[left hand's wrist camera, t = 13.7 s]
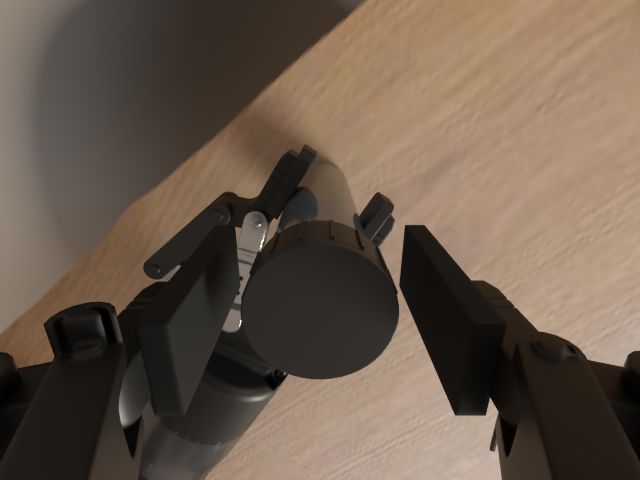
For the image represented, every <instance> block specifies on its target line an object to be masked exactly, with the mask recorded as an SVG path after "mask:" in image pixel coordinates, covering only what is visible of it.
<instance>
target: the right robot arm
mask: <svg viewBox="0 0 640 480" xmlns="http://www.w3.org/2000/svg"><path fill="white" fill-rule="evenodd" d="M316 153H317V151H315V150H313V149H312V148H310V147H309V146H307V145H306V144H305V145H304V147H303V149H302V150H301V152H300V154H298V153H297V152H295V151H294V150H292V149H290V150H289V151H288V152H286V153H285V154H284V155H283V156H282V157H281V159H280V160H279V162H278V164H277V165H276V167H275V169H274V170H273V172H272V174H271V176H270V177H269V179H268V181H267V183H266V184H265V186H264V188H263V189H262V191H261V193H260V194H259V195H258V196H257V197H255V198H252V199H247V198H242V197H238V196H237V195H236V194H235V193H233V192H225V193H223V194H222V195H220V196H219V197H218V198H217V199H216V200H215V201H214V202H212V203H211V204H210V205H209V206H208V207H207V208H206V209H204V210H203V211H202V212H201V213H200V214H199V215H198V216H196V217H195V218H194V219H193V220H192V221H191V222H190V223H189V224H187V225H186V226H185V227H184V228H183V229H182V230H181V231H179V232H178V233H177V234H176V235H175V236H174V237H173V238H171V239H170V240H169V241H168V242H167V243H166V244H165V245H163V246H162V247H161V248H160V249H159V250H158V251H157V252H156V253H155V254H154V255H153V256H152V257H150V258H149V259H148V260H147V261H146V262H145V263H144V267H143V269H144V272H145V274H146V275H147V276H148V277H150V278H152V279H161V278H163V277H165V278H166V279H168V280H170V279H171V277H172V276H173V275H174V274H175V273H176V272H177V270H178V269H179V268H180V267H181V266H182V264H183V263H184V262H185V261H186V260H187V259H188V257H189V256H190V255H191V254H192V253H193V251H194V250H195V249H196V248H197V247H198V246H199V244H200V243H201V242H202V241H203V240H204V238H205V237H206V236H207V235H208V234H209V233H210V231H211V230H212V229H213V228H214V227H215V225H235V227H239V228H242V229H241V234H240V238H239V242H238V247H237V253H238V264H239V274H240V284H241V286H240V289H239V291H238V293H237V296H236V298H235V300H234V302H233V305H232V307H231V309H230V312H229V314H228V316H227V319H226V321H225V323H224V326H223V328H222V330H221V333H220V335H219V337H218V340H217V342H216V344H215V347H214V349H213V351H212V353H211V356H210V358H209V360H208V363H207V365H206V367H205V370H204V372H203V374H202V377H201V379H200V381H199V384H198V386H197V388H196V391H195V393H194V395H193V398H192V400H191V402H190V405H189V407H188V409H187V411H186V414H185V415H154V412H153V408H152V403H151V399H150V400H149V401H148V403H147V405H146V407H145V408H144V410H143V412H142V416H143V420H144V427H145V429H144V437H143V445H142V453H141V461H140V468H139V476H138V480H205V478H206V477H207V476H208V474H209V473H210V472H211V470H212V469H213V468H214V467H215V466H216V465H217V464H218V463H220V462H221V461H222V460H223V459H224V458H225V457H226V456H227V455H228V454H229V452H230V451H231V450H232V449H233V447H234V446H235V445H236V444H237V442H238V441H239V440H240V438H241V437H242V436H243V435H244V433H245V432H246V431H247V429H248V428H249V427H250V425H251V424H252V423H253V421H254V420H255V419H256V418H257V416H258V415H259V414H260V412H261V411H262V410H263V408H264V407H265V406H266V405H267V403H268V402H269V401H270V399H271V398H272V397H273V395H274V394H275V393H276V391H277V390H278V389H279V388H280V386H281V385H282V383H283V382H284V380H285V379H286V377H287V375H288V373H285V372H283V371H281V370H279V369H277V368H275V367H273V366H272V365H270V364H269V363H268V362H266V361H265V360H264V359H262V358H261V357H260V356H259V354H258V353H257V352H256V351H255V350H254V349H253V347H252V346H251V345H250V343H249V341H248V339H247V337H246V335H245V332H244V330H243V326H242V322H241V312H240V310H241V301H242V300H241V296H242V294H243V291H244V289H245V286H246V284H247V281H248V279H249V276H250V274H249V272H250V269H251V267H252V265H253V262H254V260H255V257H256V255H257V253H258V251H262V249H263V247H264V246H265V242H266V237H267V233H268V230H269V226H270V223H271V221H272V220H273V218H275V219H278V218H279V216H280V214H281V213H282V211H283V209H284V207H285V206H286V204H287V203H288V201H289V200H290V198H291V196H292V195H293V193H294V192H295V190H296V188H297V187H298V185H299V184H300V182H301V180H302V179H303V177H304V175H305V174H306V172H307V171H308V169H309V167H310V166H311V164H312V162H313V161H314V159H315V157H316ZM393 209H394V205H393V204H392V202H391V201H390V199H389V198H387V197H385V196H384V195H382V194H381V193H379V192H377V193H376V194H375V195H374V196H373V198H372V199H371V200H370V202H369V203H368V205H367V206H366V207H365V209H364V210H363V212H362V213H361V214H360V216H359V219H360V222H361V225H362V228H363V230H364V233H365V236H366V237H367V238H368V239H369V240H370V241H371V242H372V243H373V244H374V246H375V247H377V246H378V247H379V246H380V245H381V244H382V242H383V241H384V240H385V238H386V237H387V236H388V234H389V233H390V232H391V231H392V228H393V225H394V221H395V220H394V218H393V217H392V215H391V213H392V211H393Z"/></svg>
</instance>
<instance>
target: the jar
mask: <svg viewBox="0 0 640 480" xmlns="http://www.w3.org/2000/svg"><path fill="white" fill-rule="evenodd" d="M330 219H331V220H333V222H338V223H341V224H345V225H347V226H349V227H352V228H354V229H355V230H356V229H359V230H360V232H361V233H362V234H363V235H364V236H365V233H364V230H363V228H362V225H361V222H360V219H359V216H358V213H357V210H356V207H355V204H354V201H353V198H352V195H351V192H350V189H349V186H348V183H347V180H346V178H345V176H344V174H343V173H342V172H341V171H340V170H339V169H338V168H337V167H336V166H334V165H332V164H330V163H327V162H313V163H312V164H311V166H310V167H309V169H308V171H307V172H306V174H305V175H304V177H303V179H302V180H301V182H300V184H299V185H298V187H297V188H296V190H295V192H294V193H293V195H292V196H291V198H290V200H289V201H288V203H287V204H286V206H285V207H284V209H283V212H282V215H281V218H280V221H279V223H278V226H277V229H276V232H277V231H278V233H279V232H281V231H282V230H284V229H286V228H288V227H290V226H292V225H295V224H298V223H300V222H301V221H303V220H304V222H306V221H315V220H326V221H329V220H330ZM276 232H275V233H276Z"/></svg>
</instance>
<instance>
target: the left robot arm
mask: <svg viewBox="0 0 640 480" xmlns="http://www.w3.org/2000/svg"><path fill="white" fill-rule="evenodd" d="M240 286H241V284H240V274H239V264H238V253H237V243H236V232H235V225H215V227H214V228H213V229H212V230H211V231H210V233H209V234H208V235H207V236H206V237H205V238H204V240H203V241H202V242H201V243H200V244H199V246H198V247H197V248H196V249H195V250H194V251H193V253H192V254H191V255H190V256H189V257H188V259H187V260H186V261H185V262H184V263H183V264H182V266H181V267H180V268H179V269H178V270H177V272H176V273H175V274H174V275H173V276H172V277H171V279H170V280H169V281H168V282H155V283H154V284H152V285H150V286H148V287H147V288H145V289H143V290H142V291H141V292H140V293H139V294H138V295H137V296H136V297H135V298H134V299H133V301H131V303H130V304H129V305H128V306H127V307H126V309H124V310H123V311H122V312H121V313H120V314H119V315H118V316H117V314H116V310H115V307H114V306H113V305H111V304H110V303H105V302H89V303H84V304H80V305H75V306H73V307H70V308H67V309H65V310H62V311H60V312H59V313H57V314H55V315H54V316H52V317H50V318H49V319H48V320H47V321H46V322H45V323H44V327H45V330H46V333H47V336H48V339H49V342H50V344H51V347H52V350H53V353H54V356H55V357H54V359H53V361H52V362H48V363H43V364H38V365H33V366H28V367H23V368H18V369H17V366H16V364H15V362H14V359H13V357H12V356H11V355H9V354H8V353H2V352H0V480H138V476H139V468H140V461H141V453H142V445H143V437H144V429H145V427H144V420H143V416H142V412H143V410H144V408H145V407H146V405H147V403H148V401H149V400H150V399H151V403H152V408H153V412H154V415H185V414H186V411H187V409H188V407H189V405H190V402H191V400H192V398H193V395H194V393H195V391H196V388H197V386H198V384H199V381H200V379H201V377H202V374H203V372H204V370H205V367H206V365H207V363H208V360H209V358H210V356H211V353H212V351H213V349H214V347H215V344H216V342H217V340H218V337H219V335H220V333H221V330H222V328H223V326H224V323H225V321H226V319H227V316H228V314H229V312H230V309H231V307H232V305H233V302H234V300H235V298H236V296H237V293H238V291H239V289H240ZM399 286H400V289H401V291H402V293H403V296H404V298H405V300H406V302H407V305H408V307H409V309H410V312H411V314H412V316H413V319H414V321H415V323H416V326H417V328H418V330H419V333H420V335H421V337H422V340H423V342H424V344H425V347H426V349H427V351H428V353H429V356H430V358H431V360H432V363H433V365H434V367H435V370H436V372H437V374H438V377H439V379H440V381H441V384H442V386H443V388H444V391H445V393H446V395H447V398H448V400H449V402H450V405H451V407H452V409H453V411H454V414H455V415H486V412H487V408H488V403H489V399H490V398H491V399H492V401H493V403H494V405H495V406H496V408H497V410H498V416H497V420H496V424H495V428H494V432H493V436H492V440H491V445H490V451H494V452H495V449H496V445H497V444H498V452H499V460H500V467H501V475H502V480H640V351H634V352H632V353H630V354H629V355H628V357H627V359H626V362H625V364H624V366H623V367H620V366H615V365H610V364H605V363H600V362H595V361H590V360H587V358H586V356H585V355H584V354H583V353H582V351H581V350H580V349H579V348H578V347H576V346H575V345H574V344H572V343H571V342H569V341H567V340H565V339H563V338H561V337H559V336H556V335H553V334H549V333H545V332H539V331H538V330H537V329H536V328H535V327H534V326H533V325H532V324H531V323H530V322H529V321H528V320H527V319H526V318H525V317H524V316H523V315H522V314H521V313H520V311H519V310H518V309H517V308H514V305H513V304H512V303H511V302H510V301H509V300H507V298H506V297H505V296H504V295H503V294H502V293H501V292H500V290H499V289H497V288H496V287H494V286H492V285H490V284H489V283H487V282H485V281H471V280H470V279H469V277H468V276H467V275H466V274H465V273H464V272H463V270H462V269H461V268H460V267H459V266H458V264H457V263H456V262H455V261H454V260H453V259H452V257H451V256H450V255H449V254H448V253H447V251H446V250H445V249H444V248H443V247H442V246H441V244H440V243H439V242H438V241H437V240H436V238H435V237H434V236H433V235H432V234H431V233H430V231H429V230H428V229H427V228H426V227H425V225H405V232H404V243H403V253H402V264H401V274H400V284H399Z"/></svg>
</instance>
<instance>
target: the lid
mask: <svg viewBox="0 0 640 480" xmlns="http://www.w3.org/2000/svg"><path fill="white" fill-rule="evenodd" d="M249 274H250V276H249V279H248V281H247V284H246V286H245V289H244V291H243V294H242V296H241V300H242V301H241V310H240V312H241V322H242V326H243V330H244V332H245V335H246V337H247V339H248V341H249V343H250V345H251V346H252V347H253V349H254V350H255V351H256V352H257V353H258V354H259V356H260V357H261V358H262V359H264V360H265V361H266V362H268V363H269V364H270V365H272V366H273V367H275V368H277V369H279V370H281V371H283V372H285V373H288V374H291V375H293V376H297V377H302V378H308V379H332V378H338V377H342V376H346V375H349V374H352V373H354V372H357V371H359V370H361V369H363V368H364V367H366V366H368V365H369V364H371V363H372V362H373V361H375V360H376V359H377V358H378V357H379V356H380V355H381V354H382V353H383V352H384V350H385V349H386V348H387V347H388V345H389V343H390V342H391V340H392V338H393V336H394V334H395V331H396V328H397V324H398V318H399V304H398V299H397V295H396V294H398V292H397V289H396V287H395V284H394V282H393V279H392V277H391V275H390V272H389V270H388V269H387V266H386V264H385V261H384V259H383V256H382V254H381V251H380V249H379V247H378V246H377V247H375V246H374V244H373V243H372V242H371V241H370V240H369V239H368V238H367V237H366V236H364V235H363V234H362V233H361V232H360V230H359V229H356V230H355V229H354V228H352V227H349V226H347V225H345V224H341V223H338V222H333V220H331V219H330V220H329V221H326V220H315V221H306V222H304V220H303V221H301V222H300V223H298V224H295V225H292V226H290V227H288V228H286V229H284V230H282V231H281V232H279V233H278V231H277V232H276V233H275V235H274V237H273V238H272V239H271V240H269V241H268V243H267V244H266V245H265V246H264V247H263V249H262V251H258V253H257V255H256V257H255V260H254V262H253V265H252V267H251V269H250V272H249Z"/></svg>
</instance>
